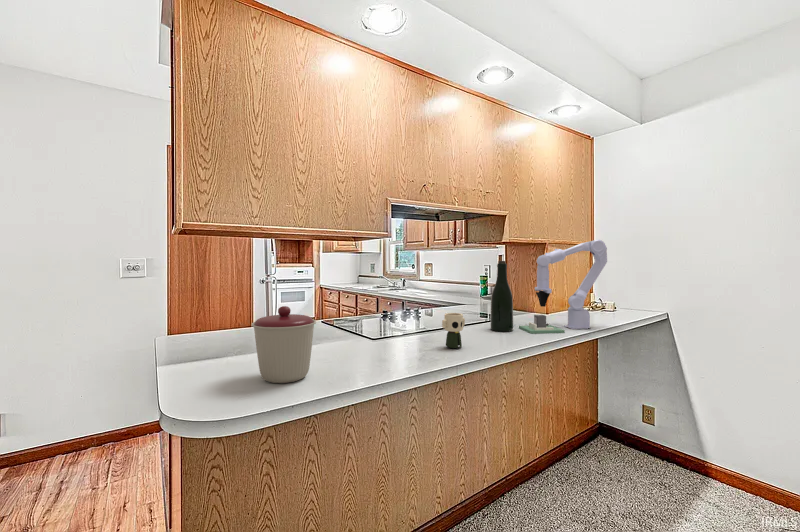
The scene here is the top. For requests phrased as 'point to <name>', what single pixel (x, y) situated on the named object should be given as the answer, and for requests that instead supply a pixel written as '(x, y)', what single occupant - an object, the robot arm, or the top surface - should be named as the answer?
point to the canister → (284, 345)
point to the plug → (540, 321)
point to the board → (541, 329)
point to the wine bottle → (501, 302)
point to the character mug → (453, 328)
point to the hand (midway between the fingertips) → (542, 306)
